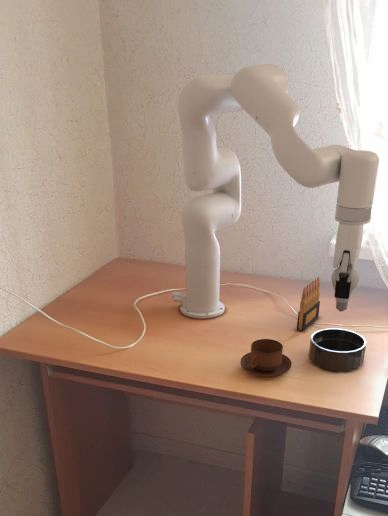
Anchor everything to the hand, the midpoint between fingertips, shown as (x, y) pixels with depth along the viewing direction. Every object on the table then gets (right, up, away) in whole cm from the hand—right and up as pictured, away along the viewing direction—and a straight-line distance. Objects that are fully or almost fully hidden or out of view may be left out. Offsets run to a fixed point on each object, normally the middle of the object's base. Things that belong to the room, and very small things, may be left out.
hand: (343, 291), depth 143 cm
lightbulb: (0, -4, +3) cm, 5 cm away
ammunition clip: (-3, -4, +27) cm, 28 cm away
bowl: (0, -15, +9) cm, 18 cm away
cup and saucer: (-17, -18, +6) cm, 25 cm away
